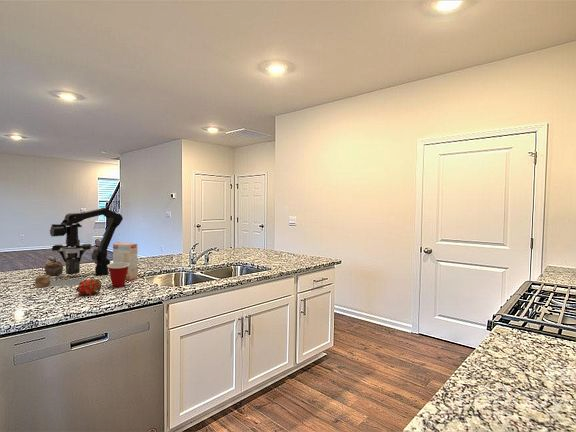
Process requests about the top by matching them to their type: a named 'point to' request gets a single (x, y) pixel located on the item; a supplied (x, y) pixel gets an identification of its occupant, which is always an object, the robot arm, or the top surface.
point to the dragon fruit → (88, 287)
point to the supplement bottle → (72, 263)
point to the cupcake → (53, 267)
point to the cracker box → (126, 257)
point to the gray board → (64, 283)
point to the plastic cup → (118, 273)
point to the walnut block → (42, 281)
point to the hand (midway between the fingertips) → (72, 261)
